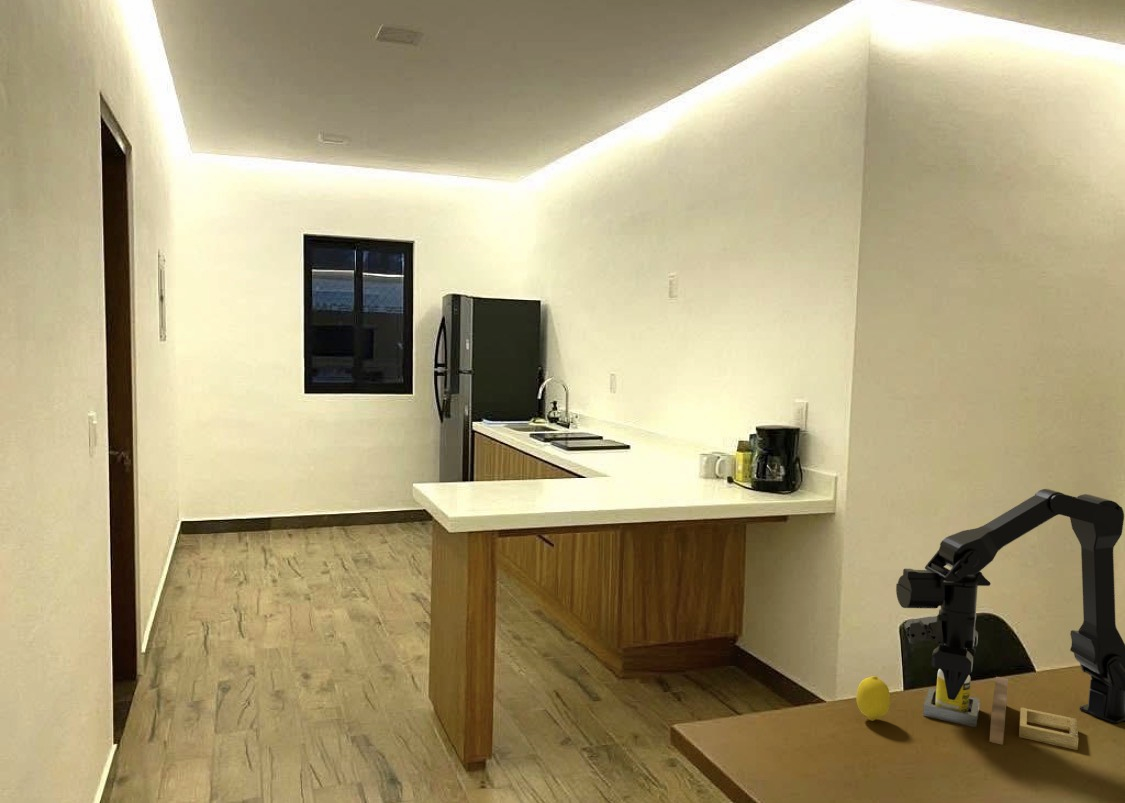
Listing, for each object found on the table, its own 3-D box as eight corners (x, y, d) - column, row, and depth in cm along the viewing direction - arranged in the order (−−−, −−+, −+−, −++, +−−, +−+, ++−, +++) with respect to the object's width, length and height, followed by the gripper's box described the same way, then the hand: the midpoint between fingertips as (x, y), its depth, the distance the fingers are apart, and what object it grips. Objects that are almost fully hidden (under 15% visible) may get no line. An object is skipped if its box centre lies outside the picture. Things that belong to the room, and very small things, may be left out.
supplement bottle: (966, 722, 149) (969, 667, 148) (932, 714, 152) (936, 660, 151) (969, 711, 153) (973, 658, 153) (937, 703, 156) (940, 651, 156)
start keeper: (928, 698, 158) (929, 688, 158) (979, 709, 154) (979, 698, 154) (923, 715, 151) (923, 704, 151) (976, 727, 147) (976, 716, 147)
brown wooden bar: (994, 703, 157) (995, 676, 157) (1006, 705, 156) (1008, 679, 156) (989, 741, 142) (991, 712, 141) (1002, 744, 141) (1004, 715, 140)
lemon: (891, 729, 145) (894, 683, 145) (857, 725, 146) (860, 680, 146) (885, 715, 150) (888, 671, 150) (853, 712, 152) (855, 668, 151)
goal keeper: (1019, 718, 151) (1020, 707, 151) (1075, 730, 147) (1076, 718, 147) (1018, 737, 144) (1019, 725, 143) (1077, 750, 139) (1078, 738, 139)
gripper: (916, 588, 163) (911, 667, 164) (902, 614, 147) (897, 701, 148) (980, 598, 158) (974, 679, 159) (974, 626, 141) (968, 717, 143)
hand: (952, 693), depth 152 cm, fingers closed on supplement bottle, 5 cm apart
